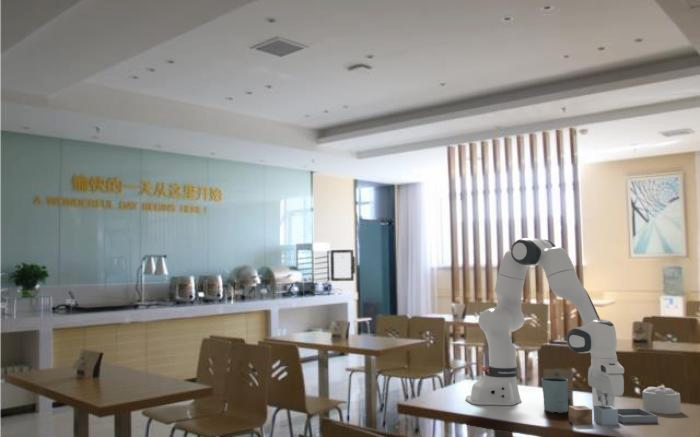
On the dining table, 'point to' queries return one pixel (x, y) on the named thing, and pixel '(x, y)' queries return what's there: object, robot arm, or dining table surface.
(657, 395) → the lumpy-topped squat cylinder
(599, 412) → the blue block
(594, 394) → the white tall block
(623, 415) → the tray
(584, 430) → the dining table surface
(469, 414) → the dining table surface
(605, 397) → the pin gauge
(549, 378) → the teal bin
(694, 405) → the dining table surface
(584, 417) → the walnut block
